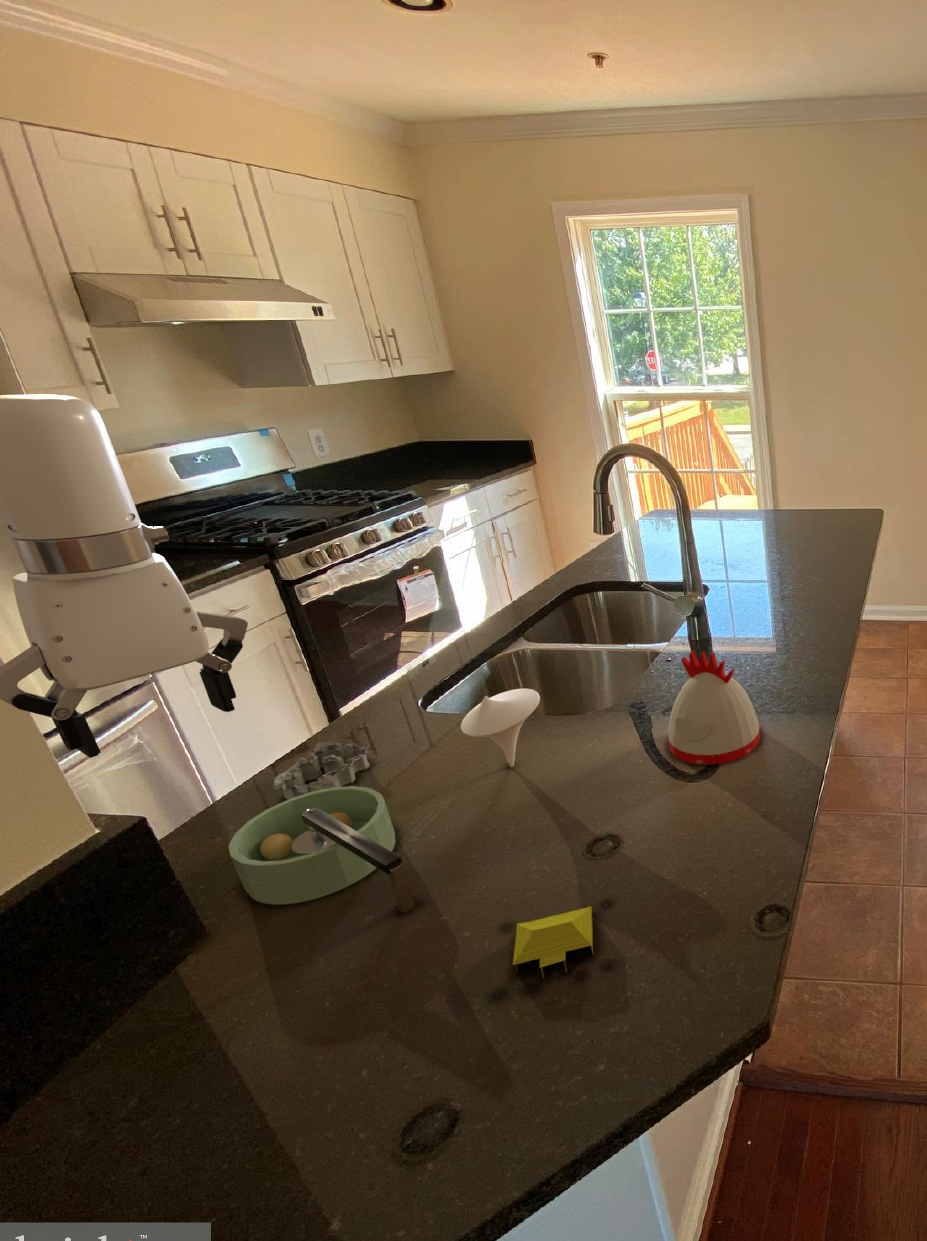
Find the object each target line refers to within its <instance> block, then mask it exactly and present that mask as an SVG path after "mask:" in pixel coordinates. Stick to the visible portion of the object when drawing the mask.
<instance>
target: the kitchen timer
mask: <svg viewBox="0 0 927 1241" xmlns="http://www.w3.org/2000/svg"><path fill="white" fill-rule="evenodd" d="M681 663H682V665H683V667H684V669H685V671H686V673H687V674H688V676H689V679H688V680H687V681H686V682H685V683H684V684H683V686H682V687H681V688H680V690H679V691H678V692H677V693H676V694H675V696H676V698H675V700H674V703H673V705H672V708H671V713H670V717H669V721H668V726H667V727H668V728H667V736H668V745H669V751H670V752H671V754H673V756H674V757H676V758H677V759H679V760H681V761H683V762H686V763H690V764H694V765H695V764H696V765H706V766H707V765H719V764H725V763H729V762H733V761H736V760H739V759H740V758H743V757H745V756H746V755H748V754H749V753H751V752H753V751H754V749H756V747H757V746H758V745H759V742H760V739H761V738H760V737H761V733H760V723H759V720H758V717H757V714H756V711H755V708H754V705H753V703H752V701H751V699H750V697H749V695H748V693H747V692H746V690H745V688H744V687H743V686H742V685H741V684H740V683H739V682H738V681H737V680H736V679H734V678H733V675H734V672H735V668H732V669H731V670H730V671H729V673H725V664H726V661H725V659H723V660H722V661H721V662H720V663H719V664H718V662H717V658H716V654H715V652H714V651H713V652H711V653H710V655H709V660H708V658H707V653H706V651H705V650H703V651H702V652H701V654H700V658H699V660H698V658H697V654H696V652H695V651H694V650H692V651H691V652H689V659H688V658H687V657H686V656H683V657H682V658H681Z"/></svg>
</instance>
